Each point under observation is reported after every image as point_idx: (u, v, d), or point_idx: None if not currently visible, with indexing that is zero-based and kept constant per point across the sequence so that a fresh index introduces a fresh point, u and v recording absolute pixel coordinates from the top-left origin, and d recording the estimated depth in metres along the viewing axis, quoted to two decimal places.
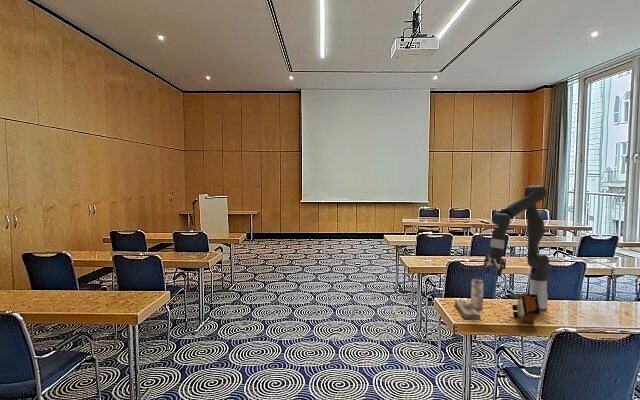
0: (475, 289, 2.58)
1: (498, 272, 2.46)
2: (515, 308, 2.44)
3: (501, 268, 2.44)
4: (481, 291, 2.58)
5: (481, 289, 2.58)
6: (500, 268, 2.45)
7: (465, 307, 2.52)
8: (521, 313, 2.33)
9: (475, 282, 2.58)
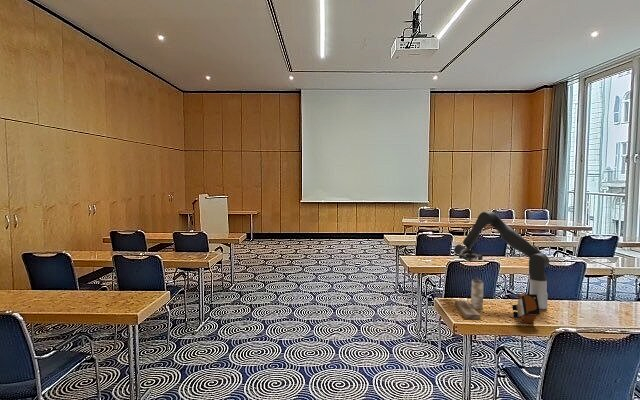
0: (475, 289, 2.58)
1: None
2: (515, 308, 2.44)
3: (460, 258, 2.78)
4: (481, 291, 2.58)
5: (481, 289, 2.58)
6: None
7: (465, 307, 2.52)
8: (521, 313, 2.33)
9: (475, 282, 2.58)
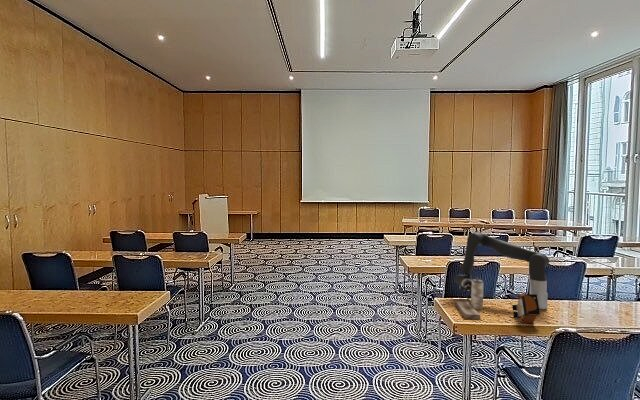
0: (475, 289, 2.58)
1: None
2: (515, 308, 2.44)
3: (461, 290, 2.75)
4: (481, 291, 2.58)
5: (481, 289, 2.58)
6: (463, 289, 2.74)
7: (465, 307, 2.52)
8: (521, 313, 2.33)
9: (475, 282, 2.58)
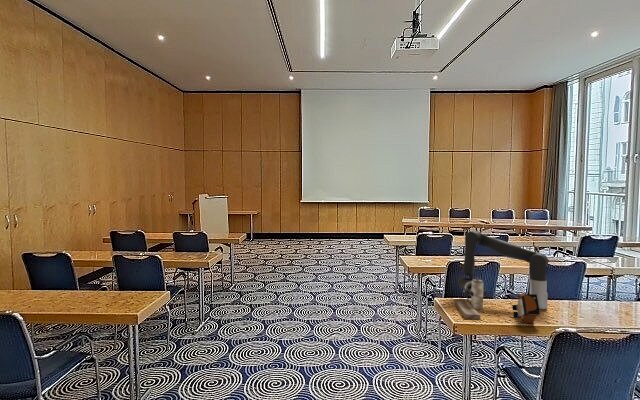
0: (475, 289, 2.58)
1: None
2: (515, 308, 2.44)
3: (467, 294, 2.64)
4: (481, 291, 2.58)
5: (481, 289, 2.58)
6: (469, 293, 2.63)
7: (465, 307, 2.52)
8: (521, 313, 2.33)
9: (475, 282, 2.58)
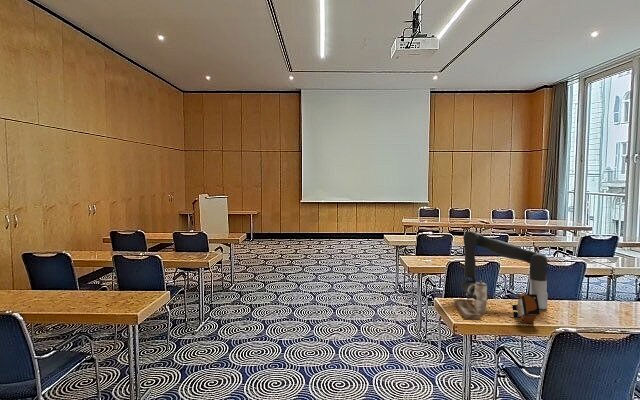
0: (478, 293, 2.49)
1: (474, 298, 2.52)
2: (515, 308, 2.44)
3: (470, 297, 2.55)
4: (484, 294, 2.49)
5: (484, 292, 2.49)
6: (472, 297, 2.55)
7: (465, 307, 2.52)
8: (521, 313, 2.33)
9: (478, 285, 2.49)
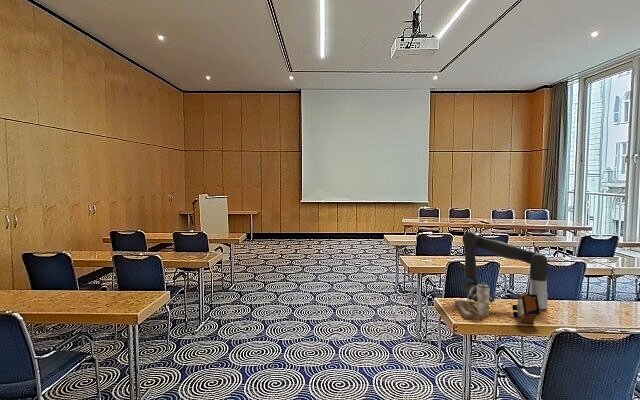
0: (481, 295, 2.44)
1: (474, 300, 2.48)
2: (515, 308, 2.44)
3: (469, 299, 2.50)
4: (487, 297, 2.44)
5: (487, 294, 2.44)
6: (472, 299, 2.50)
7: (465, 307, 2.52)
8: (521, 313, 2.33)
9: (481, 287, 2.44)
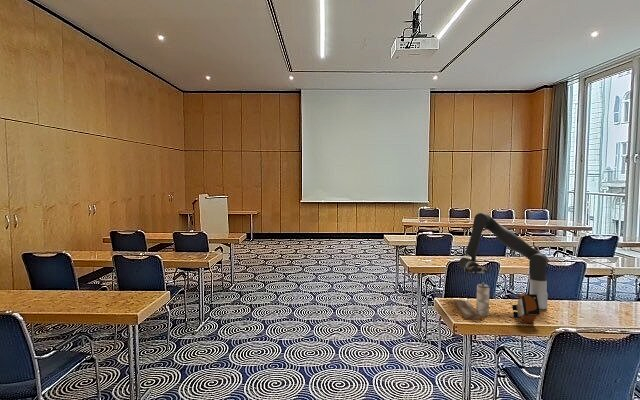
0: (481, 295, 2.44)
1: (470, 272, 2.60)
2: (515, 308, 2.44)
3: (466, 272, 2.63)
4: (487, 297, 2.44)
5: (487, 294, 2.44)
6: (468, 271, 2.63)
7: (465, 307, 2.52)
8: (521, 313, 2.33)
9: (481, 287, 2.44)
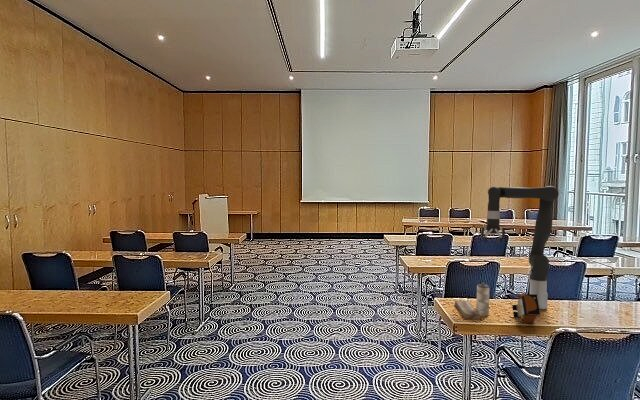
0: (481, 295, 2.44)
1: None
2: (515, 308, 2.44)
3: (481, 235, 2.74)
4: (487, 297, 2.44)
5: (487, 294, 2.44)
6: None
7: (465, 307, 2.52)
8: (521, 313, 2.33)
9: (481, 287, 2.44)
